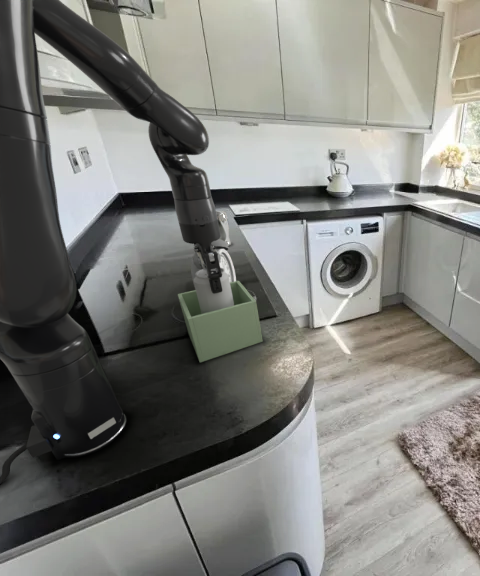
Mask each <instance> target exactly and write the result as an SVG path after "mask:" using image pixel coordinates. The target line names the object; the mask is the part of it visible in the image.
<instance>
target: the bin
mask: <svg viewBox="0 0 480 576" xmlns="http://www.w3.org/2000/svg"><path fill="white" fill-rule="evenodd" d="M230 286H231V291H232V296H233V301H234V306H231V307H227V308H223V309H219V310H216V311H212V312H208V313H204V314H202V313H201V309H200V305H199V301H198V297H197V293H196V290H195V289H193V290H190V291H185V292H181V293H177V298H178V301H179V305H180V308H181V312H182V315H183V319H184V322H185V326H186V329H187V330H186V331H187V334H188V336H189V338H190V341H191V344H192V346H193V349H194V351H195V354H196V357H197V359H198V361H199V363H203V362H206V361H209V360H213V359H215V358H218V357H221V356H224V355H227V354H230V353H234V352H236V351H239V350H242V349H245V348H247V347H251V346H253V345H257V344H259V343H262V342H263V341H264V340H263V335H262V329H261V323H260V322H261V321H260V316H259V312H258V305H257V301H256V299H255V298H254V297H253V296H252V294H251V293H250V292H249V291H248V290H247V289H246V287H245V286H244V284H242V283H241V281H240V280H236V281H234V282H230Z"/></svg>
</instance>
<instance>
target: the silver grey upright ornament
mask: <svg viewBox="0 0 480 576" xmlns="http://www.w3.org/2000/svg"><path fill="white" fill-rule="evenodd" d="M216 214H217V219H218V224H219V229H220V234H221V237H220V238H219V239H221V240H223V241H225V242H226V243H227V245H228V247H230V246H232V241H231V238H230V224H229V223H230V222H229V218H228V215H227V211H225V210H216Z"/></svg>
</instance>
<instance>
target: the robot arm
mask: <svg viewBox="0 0 480 576" xmlns="http://www.w3.org/2000/svg"><path fill="white" fill-rule="evenodd" d="M36 36H37V37H39V38H40V39H41V40H42V41H44V42H45V43H46V44H48V45H49V46H50V47H52V48H53V49H54V50H55V51H57V52H58V53H59V54H60V55H62V56H63V57H64V58H65V59H66V60H67V61H69V62H70V63H71V64H72V65H73V66H75V67H76V68H77V69H78V70H79V71H80V72H82V73H83V74H84V75H85V76H86V77H88V78H89V80H91V81H92V82H93V83H94V84H95V85H97V87H98V88H100V89H101V91H103V92H104V93H105V94H106V95H107V96H108V97H109V98H110V99H112V101H114V102H115V103H116V104H117V105H118V106H119V107H120V108H122V109H123V111H125V112H126V113H128V114H129V115H130V116H131V117H133V118H135V119H136V120H140V121H143V122H147V123H149V124H148V132H147V133H148V139H149V142H150V145H151V147H152V149H153V151H154V153H155V155H156V157H157V159H158V161H159V162H160V164H161V167H162V169H163V170H164V172H165V173H166V175H167V177H168V179H169V183H170V187H171V192H172V197H173V201H174V208H175V213H176V217H177V221H178V225H179V229H180V233H181V238H182V240H183V242H184V243H186V244H190V245H193V251H194V253H195V254H196V258H197V261H198V262H199V265H200V267H201V266H202V267H201V269H203V270H205V271H206V273H207V278H208V279H209V283H210V287H211V291H212V293H213V294H215V293H219V292H222V285H221V281H220V277H222V273H221V269H220V264H219V260H218V253H217V251H216V248H214V247H213V245H212V244H211V243H212V242H213V241H216V240H218V239H219V238H220V237H221V234H220V229H219V224H218V219H217V214H216V211H217V209H216V206H215V203H214V200H213V197H212V192H211V186H210V181H209V177H208V174H207V172H206V171H205V170H204V169H203V168H201V167H198V166H196V165H194V164H192V162H191V160H190V157H189V156H199V155H202V154H204V153H205V152H207V150H208V149H209V145H210V137H209V133H208V131H207V129H206V127H205V125H204V123H203V122H202V121H201V120H200V119H199V118H198V116H196V114H194V113H193V112H192V111H191V110H189V108H187V107H186V106H185V105H183V103H181V102H179V101H178V100H177V99H175V97H173V96H172V95H170V93H169V94H168V92H166V91H165V90H164V89H162V88H161V87H159V85H158V84H157V82H156V81H154V79H153V78H152V77H151V76H150V75H149V74H148V73H147V72H146V70H144V68H143V67H142V66H141V65H140V64H139V62H137V60H135V58H133V56H131V54H129V52H128V51H126V50H125V49H124V48H123V47H122V46H121V45H120V44H118V43H117V42H116V41H114V39H112V38H111V37H110V36H109V35H107V34H106V33H104V32H103V31H102V30H101V29H99V28H97V27H96V26H95V25H93V24H92V23H90V21H88V20H86V19H85V18H84V17H82V16H81V15H79V14H77V13H76V12H75V11H74V10H72V9H71V7H69V6H68V5H66V4H65V3H63V2H62V1H61V0H0V360H1V361H2V362H3V364H4V365H5V367H6V368H7V369H8V371H9V373H10V374H11V376H12V377H13V379H14V381H15V382H16V384H17V386H18V387H19V389H20V390H21V392H22V394H23V395H24V397H25V398H26V400H27V402H28V403H29V405H30V406H31V409H32V413H31V417H30V418H31V421H32V423H33V424H34V425H32V426H31V427H30V431H29V435H28V439H27V441H26V443H24V444H23V445H22V446H20V447H19V448H18V449H16V450H15V451H14V452H13V453H11V454H10V455H9V456H8V457H7V458H6V460H5V461H4V462H3V464H2V467H1V475H0V485H1V484H3V483H4V482H5V481H6V480H7V479H8V478H9V477H10V474H11V465H12V463H13V462H14V461H15V459H17V458H18V457H19V456H20V455H21V454H22V453H24V452H26V451H28V452H29V454H30V456H31V457H32V458H34V459H35V458H37V457H39V456H42V455H45V454H47V453H50V452H51V453H52V454H53V456H54V457H55V459H56V461H59V460H63V459H65V458H68V459H74V458H81V457H86V456H88V455H91V454H94V453H96V452H98V451H100V450H102V449H104V448H105V447H107V446H109V445H110V444H111V443H113V442H114V441H115V440H116V439H118V438H119V437H120V436H121V434H122V433H123V432H124V431H125V429H126V427H127V424H128V419H127V416H126V414H125V413H124V410H123V408H122V407H121V405H120V403H119V401H118V398H117V396H116V394H115V391H114V389H113V387H112V385H111V382H110V380H109V378H108V376H107V374H106V372H105V369H104V367H103V365H102V362H101V360H100V359H99V356H98V354H97V351H96V349H95V347H94V345H93V343H92V341H91V338H90V336H89V334H88V332H87V331H86V329H85V328H84V327H83V326H82V325H80V324H79V323H78V322H77V321H76V320H75V319H74V318H72V316H71V315H70V314H69V312H70V311H71V309H72V308H73V306H74V304H75V301H76V298H77V282H76V277H75V274H74V270H73V266H72V262H71V260H70V259H71V258H70V256H69V252H68V248H67V245H66V242H65V238H64V233H63V230H62V225H61V221H60V214H59V206H58V205H59V204H58V195H57V187H56V181H55V175H54V174H55V173H54V168H53V167H54V166H53V157H52V155H53V154H52V145H51V137H50V131H49V123H48V122H49V121H48V116H47V111H46V106H45V99H44V95H43V88H42V87H43V86H42V77H41V70H40V69H41V68H40V60H39V53H38V47H37V41H36ZM214 268H215V270H216V273H211V269H214Z"/></svg>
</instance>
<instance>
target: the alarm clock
mask: <svg viewBox="0 0 480 576" xmlns="http://www.w3.org/2000/svg"><path fill="white" fill-rule="evenodd" d="M211 244H212V245H213V247H214V248H216V251H217V253H218V260H219V264H220V268H223V269H224V270H225V273H227V274H228V276H229V281H230V282H234V281H237V277H236V269H235V267H234V262H233V260H232V258H231V255H230V254H229V252H228V251H229V246H228V245H227V243H226V242H225V241H223V240H221V239H218V240H216V241H213V242H212V243H211ZM201 267H202V266H201ZM201 267H200V265H199V262H198V261H197V258H196V254H195V252H194V253H193V255H192V257H191V261H190V273H191V279H192V283H193V287H194V290H196V289H195V285H194V278H195V277H196V276H195V273H196V272H197V271H199V270H201Z"/></svg>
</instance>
